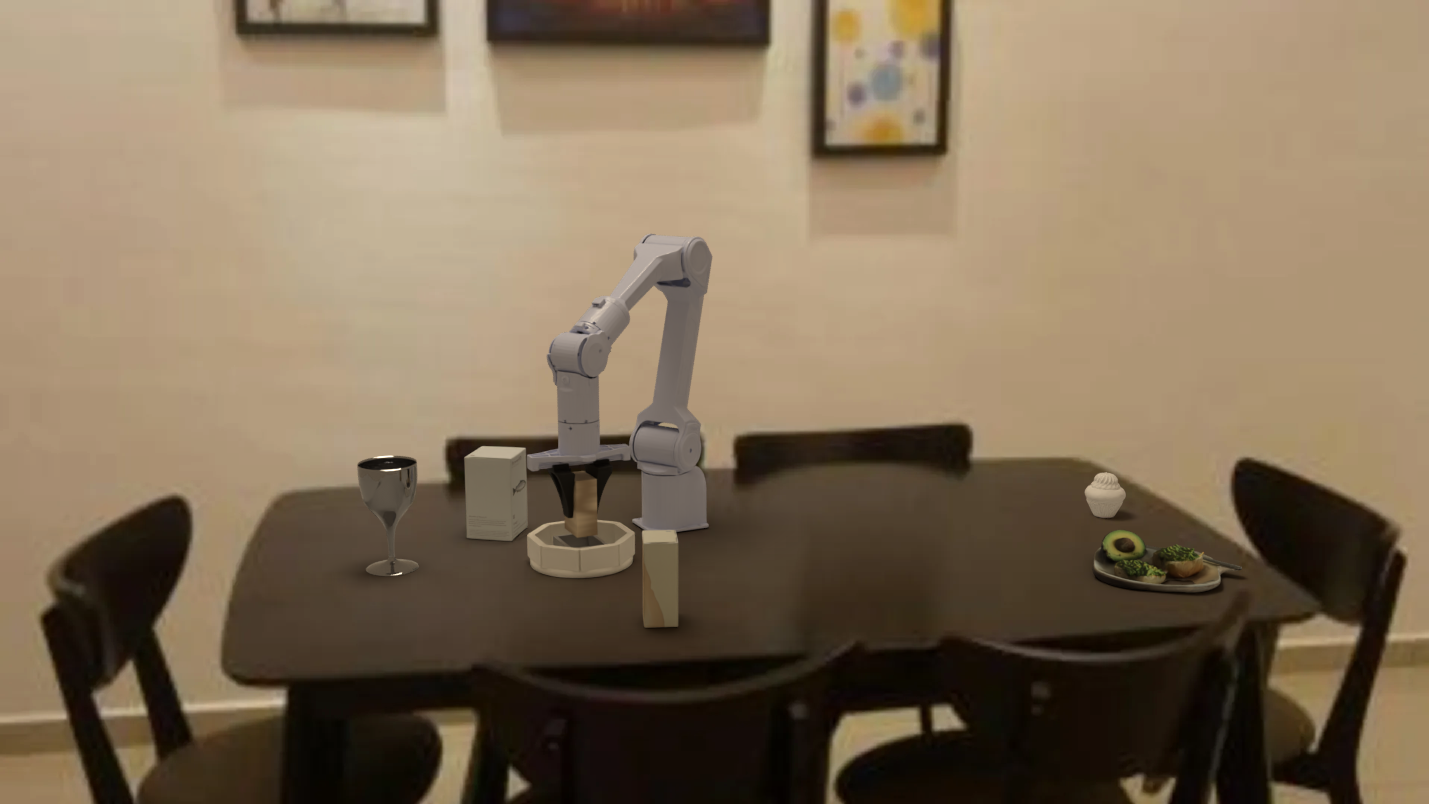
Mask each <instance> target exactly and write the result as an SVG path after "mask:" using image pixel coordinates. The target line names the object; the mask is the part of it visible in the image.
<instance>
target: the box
mask: <svg viewBox="0 0 1429 804" xmlns="http://www.w3.org/2000/svg"><path fill="white" fill-rule="evenodd" d="M641 539H642V540H641V541H642V542H641V543H642V547H641V549H642V550H641V551H642V553H641V554H642V556H641V557H642V559H641V561H642V562H641V563H642V565H641V566H642V573H641V574H642V621H643V627H644V628H647V629H648V628H650V629H651V628H676V627H677V628H678V627H679V539H678V535H677V532H676V531H675V530H646V531H645V530H642V532H641Z"/></svg>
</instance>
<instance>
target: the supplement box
mask: <svg viewBox="0 0 1429 804" xmlns="http://www.w3.org/2000/svg"><path fill="white" fill-rule="evenodd" d="M463 460H464V488H465V491H464V492H465V513H466V514H465V519H466V521H465V522H466V526H465V527H466V538H467V539H473V540H485V541H486V540H487V541H489V540H490V541H502V542H503V541H504V542H513V541H514V540H515V538H516V537H517V536H518V535H519V534H521V533H522V532H523V531H524V530H526V529H527V528H528V526H529V525H528V524H529V523H528V521H529V520H528V483H527V482H528V479H527V448H526V447H515V446H486V445H482V446H480V447H478V448H477V449H475V450H474V451H472V452H471V453H469V454H467V455H466V456H464V458H463Z"/></svg>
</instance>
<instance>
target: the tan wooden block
mask: <svg viewBox="0 0 1429 804" xmlns="http://www.w3.org/2000/svg"><path fill="white" fill-rule="evenodd" d="M572 472H573V473H574V474H575V480H574V488H573V505H574V512H573V518H567V517H566V516H565V515H564V514H563V516H564V520H563V521H565V529H566V530H568V531H569V532H570V533H572V534H573V535H574V536H576V537H577V538H579V537H586V536H593V535H598V529H597V520H598V514H597V479H596V478H594V477H593V476H591V475H589V474H588V473H586V472H585V470H581V471H580V470H579V471H572Z"/></svg>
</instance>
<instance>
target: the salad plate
mask: <svg viewBox="0 0 1429 804" xmlns="http://www.w3.org/2000/svg"><path fill="white" fill-rule="evenodd" d="M1100 544H1101V545H1100V547H1099V548H1097V550H1095V552H1094V555H1093V566H1092V568H1091V569H1092V573H1093V574H1094V576H1095V578H1097V579H1098V580H1100V581H1101V582H1103V583H1104V584H1108V585H1110V586H1113V587H1119V588H1123V589H1129V590H1134V591H1135V590H1136V591H1152V592H1163V593H1164V592H1166V593H1201V592H1206V591H1211V590H1213V589H1216V588H1217V587H1219V586H1220V584H1221V582H1222V581H1221V580H1222V577H1221V575H1222V574H1223V573H1227V572H1238V571H1241V570H1242V569H1243V567H1242V566H1240V565H1236V564H1233V563H1229V562H1225V561H1222V560H1221V561H1220V560H1217V559H1214V558H1213V557H1211V556H1209V555H1206V554H1205V551H1202V552H1199V551H1195V548H1193V547H1192V548H1189V547H1184V546H1182V545H1178V544H1177V543H1176V544H1174V545H1171V546H1167V547H1158V546H1152V545H1149V544H1146V543H1145V541H1144V540H1143V538H1142V537H1141V536H1139V535H1138V534H1137V533H1135V532H1132V531H1129V530H1126V529H1115V530H1111V531H1110V532H1108V533H1107V534H1106V535H1104V537H1103V539H1102V540H1101V543H1100ZM1167 581H1181V582H1182V581H1184V582H1185V581H1191V582H1192V583H1194V584H1183V585H1182V584H1163V583H1164V582H1167Z"/></svg>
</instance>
